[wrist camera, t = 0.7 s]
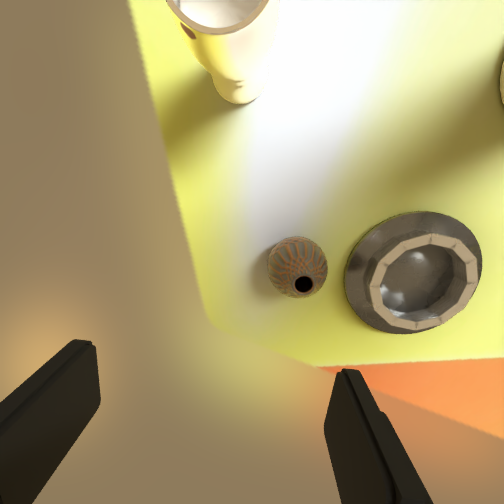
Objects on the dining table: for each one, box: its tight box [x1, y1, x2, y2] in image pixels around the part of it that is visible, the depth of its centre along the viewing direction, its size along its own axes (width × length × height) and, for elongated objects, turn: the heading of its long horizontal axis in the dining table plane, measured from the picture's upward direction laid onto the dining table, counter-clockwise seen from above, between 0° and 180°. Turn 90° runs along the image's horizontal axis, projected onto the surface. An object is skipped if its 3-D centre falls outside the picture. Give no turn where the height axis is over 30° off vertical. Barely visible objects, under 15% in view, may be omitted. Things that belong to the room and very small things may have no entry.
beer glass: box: [166, 0, 280, 104], centre depth 20 cm, size 7×7×15 cm
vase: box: [268, 237, 328, 298], centre depth 29 cm, size 7×7×9 cm
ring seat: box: [344, 211, 482, 334], centre depth 32 cm, size 17×17×3 cm
